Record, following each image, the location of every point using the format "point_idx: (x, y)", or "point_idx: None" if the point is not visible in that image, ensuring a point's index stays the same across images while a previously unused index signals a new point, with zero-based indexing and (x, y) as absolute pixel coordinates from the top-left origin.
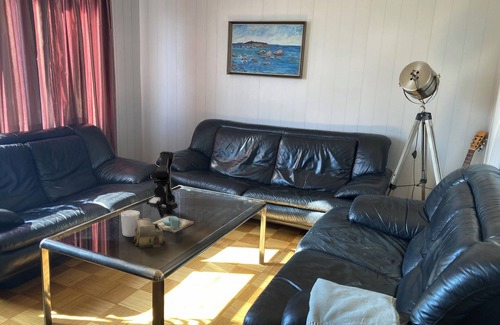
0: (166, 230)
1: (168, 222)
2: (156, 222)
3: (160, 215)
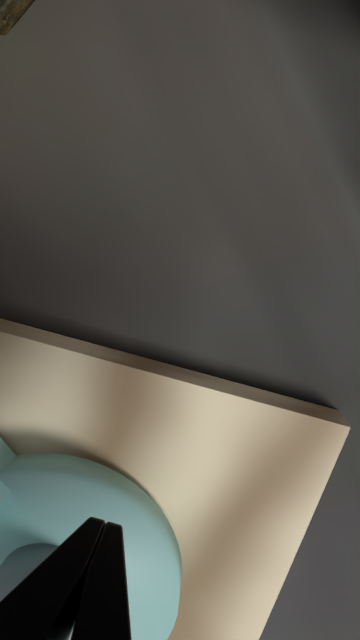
0: (27, 326)
1: (47, 499)
2: (273, 508)
3: (104, 573)
